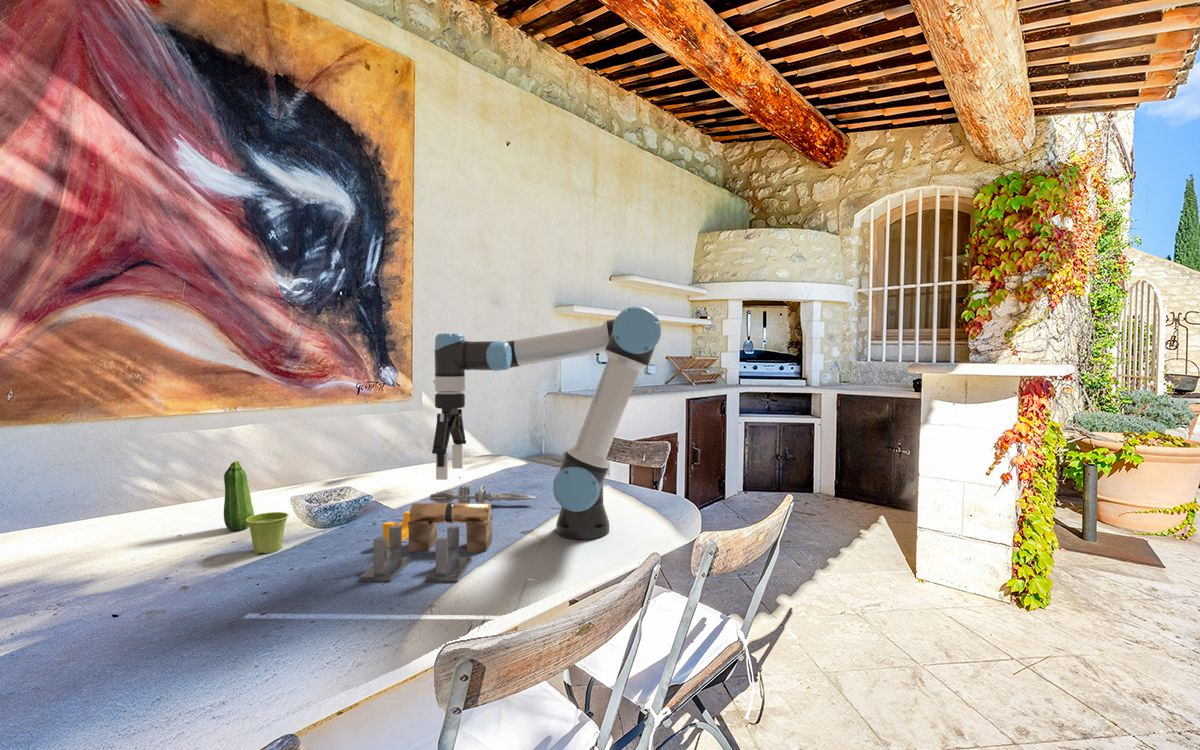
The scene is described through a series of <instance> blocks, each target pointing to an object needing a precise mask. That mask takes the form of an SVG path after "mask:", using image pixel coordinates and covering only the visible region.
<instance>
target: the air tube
mask: <svg viewBox="0 0 1200 750" xmlns="http://www.w3.org/2000/svg"><path fill="white" fill-rule="evenodd" d="M409 511H410V520H411V521H429V523H437V524H466V522H467V521H487V523H489V522H490V519H491V514H492V505H491V503H486V502H485V503H478V502H473V503H472V502H471V503H459V502H450V503H437V502H428V503H427V502H414V503H412V505H411V507H410V510H409Z"/></svg>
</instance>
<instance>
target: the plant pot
mask: <svg viewBox="0 0 1200 750" xmlns="http://www.w3.org/2000/svg"><path fill="white" fill-rule="evenodd" d="M288 518H289V513H288V512H285V511H284V512H283V511H271V512H270V511H269V512H263V513H257V514H254V515H253V516H251V517H248V518H247V519H246V522H247V523H248V526H249V527H248V528H249V531H250V532H249V533H250V536H251V544H252V549H253V552H254V553H255V554H261V553H264V554H270V553H275V552H277V551H279V550H280V549H282V548H283V547H282V546H283V540H284V532H285V525H286V523H287V519H288Z"/></svg>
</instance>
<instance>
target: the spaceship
mask: <svg viewBox="0 0 1200 750" xmlns="http://www.w3.org/2000/svg"><path fill="white" fill-rule="evenodd" d="M429 497H430V498H429V500H428V501H433V503H453V501H455V500H457V501H458V502H457V503H470V502H471V500H474V501H475V503H486V501H488V502H493V501H497V502H500V501H508V502H509V501H526V500H527V501H529V500H533V499H537V496H534V495H531V494H530V495H529V494H519V493H518V494H517V493H508V492H507V493H500V492H498V493H493V492H489V493H487V492H486V488H485V485H484V484H482V485H481V486H480V487H479V490H478V492H475V494H473V495H472V494H471V492H470V486H467V487H466V486H465V485H462V486H460V487H459V488H458V494H457V495H455V492H454V491H452V490H450V489H446V490H445V489H444V490H442V491H437V492H435V493H432V494H430V495H429Z"/></svg>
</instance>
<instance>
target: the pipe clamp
mask: <svg viewBox="0 0 1200 750" xmlns="http://www.w3.org/2000/svg"><path fill="white" fill-rule="evenodd" d="M409 521H411V520H410V510H409V511H408V510H407V511H405V512H403V518H402V522H400V523H397V522H395V521H394V522H393V521H386V522H383V523H382V538H387V548H389V528H390V527H391V526H402V542H403V541H405V540H406V539H407V538H408V539H409V527H408V522H409Z"/></svg>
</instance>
